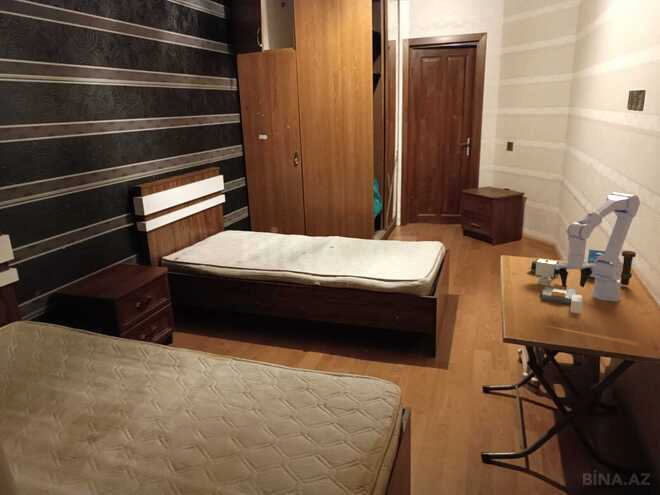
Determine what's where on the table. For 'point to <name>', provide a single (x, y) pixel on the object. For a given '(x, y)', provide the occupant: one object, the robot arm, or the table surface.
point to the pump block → (576, 303)
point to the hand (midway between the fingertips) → (572, 286)
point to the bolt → (627, 266)
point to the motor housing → (557, 293)
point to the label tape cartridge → (594, 258)
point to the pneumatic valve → (545, 270)
